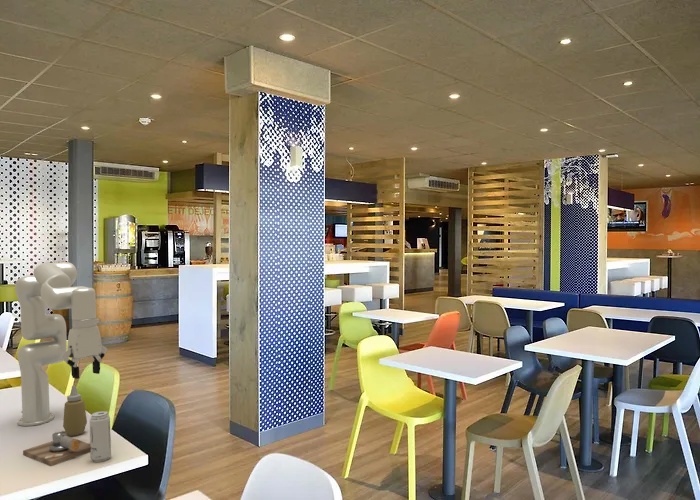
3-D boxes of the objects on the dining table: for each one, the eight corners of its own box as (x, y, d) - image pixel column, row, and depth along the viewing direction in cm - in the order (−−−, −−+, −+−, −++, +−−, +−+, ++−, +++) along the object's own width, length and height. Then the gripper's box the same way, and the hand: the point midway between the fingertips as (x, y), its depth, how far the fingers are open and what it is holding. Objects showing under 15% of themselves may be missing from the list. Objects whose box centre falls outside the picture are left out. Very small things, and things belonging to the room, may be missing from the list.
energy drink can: (89, 458, 175) (87, 413, 175) (108, 453, 178) (107, 409, 178) (93, 464, 170) (91, 417, 170) (113, 459, 174) (111, 413, 173)
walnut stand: (23, 454, 179) (23, 449, 179) (67, 440, 192) (67, 435, 192) (51, 466, 170) (50, 460, 170) (95, 449, 182) (95, 444, 182)
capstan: (45, 449, 179) (44, 435, 179) (65, 442, 185) (65, 429, 185) (65, 456, 172) (65, 442, 172) (86, 449, 178) (86, 435, 178)
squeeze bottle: (77, 438, 194) (75, 389, 194) (58, 436, 196) (56, 388, 196) (92, 430, 202) (90, 383, 202) (73, 429, 204) (72, 382, 203)
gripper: (101, 319, 191) (103, 369, 192) (53, 326, 177) (54, 380, 177) (114, 321, 187) (115, 371, 187) (65, 328, 173) (67, 383, 173)
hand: (86, 375), depth 182 cm, fingers open, 6 cm apart
